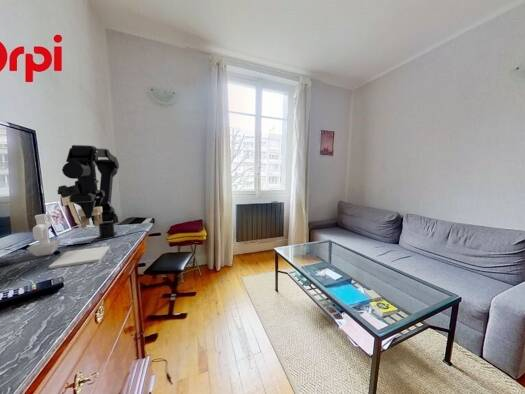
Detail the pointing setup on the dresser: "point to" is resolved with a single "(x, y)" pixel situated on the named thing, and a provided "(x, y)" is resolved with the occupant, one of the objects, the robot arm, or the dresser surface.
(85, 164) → the robot arm
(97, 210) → the tan pegged block
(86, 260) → the mat
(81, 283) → the dresser surface
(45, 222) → the figurine
